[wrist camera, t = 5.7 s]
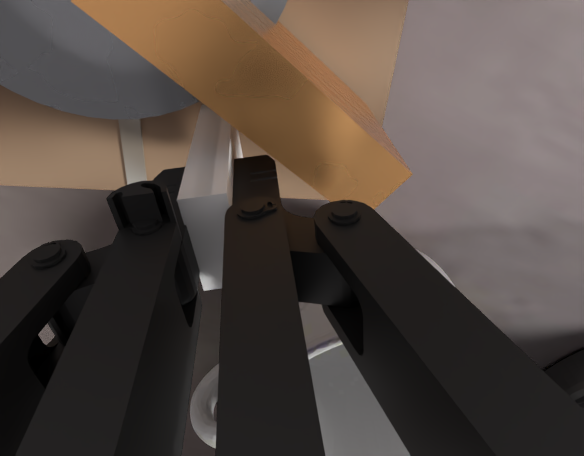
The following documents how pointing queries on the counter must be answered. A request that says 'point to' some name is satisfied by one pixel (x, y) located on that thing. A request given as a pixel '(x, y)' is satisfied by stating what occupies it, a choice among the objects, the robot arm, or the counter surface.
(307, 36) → the board
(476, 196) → the counter surface
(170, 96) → the dial
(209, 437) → the teacup
